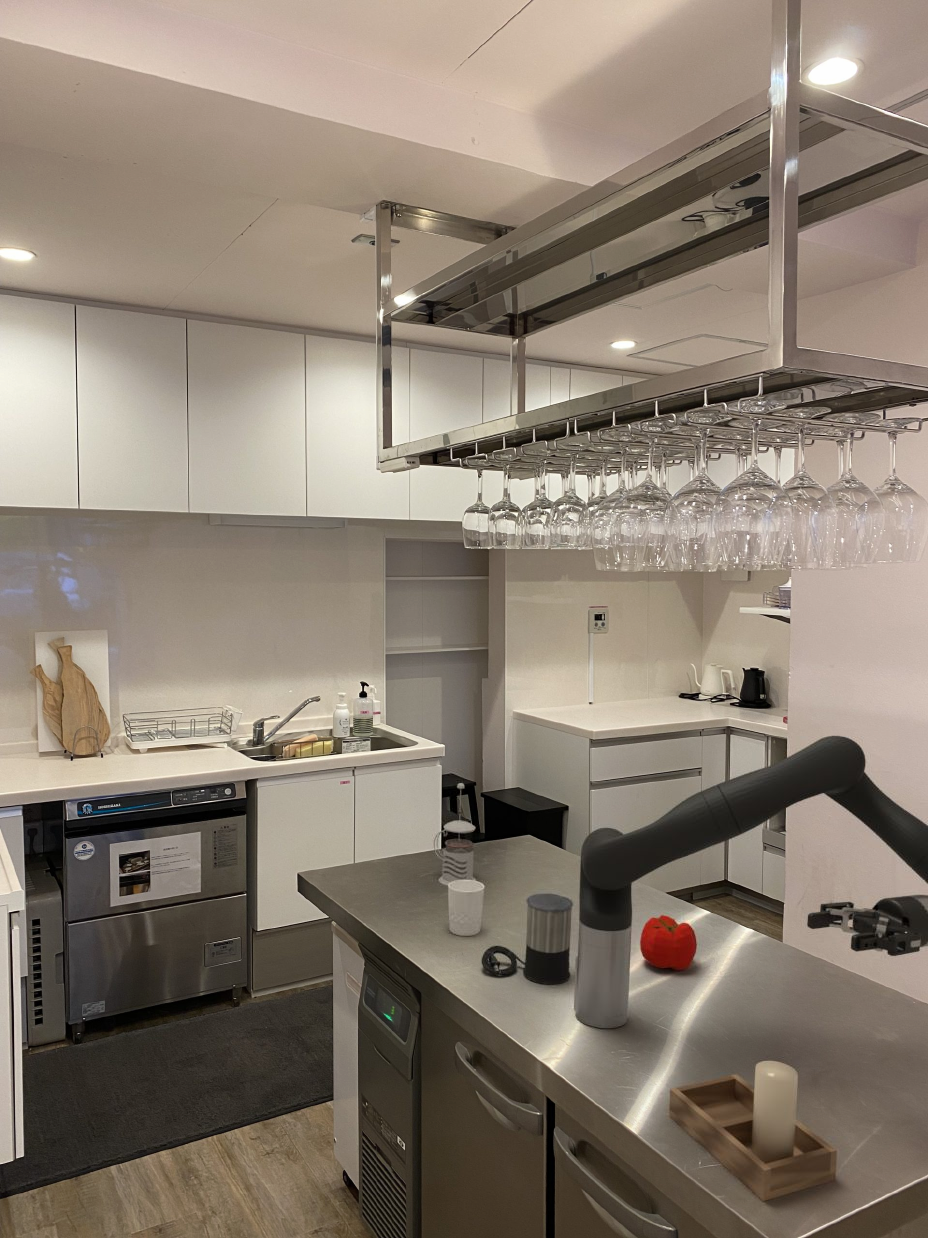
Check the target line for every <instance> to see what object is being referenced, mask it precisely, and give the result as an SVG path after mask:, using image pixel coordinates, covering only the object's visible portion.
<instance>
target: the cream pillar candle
mask: <svg viewBox="0 0 928 1238" xmlns="http://www.w3.org/2000/svg"><path fill="white" fill-rule="evenodd" d="M754 1070H755V1071H754V1072H755V1073H754V1086H753V1087H754V1107H753V1127H752V1147H751V1152H752V1153H753V1154H754V1155H755V1156H757V1157H758V1158H759V1159H760V1160H761V1161H763V1162H764V1163H765V1164H768V1163H771V1162H775V1161H779V1160H782V1159H786V1158H789V1157H793V1156H794V1141H795V1122H796V1120H797V1119H796V1118H797V1104H798V1103H797V1100H798V1099H797V1098H798V1081H799V1080H798V1079H799V1074H798V1072H797V1069H796V1070H795V1068H793V1067H792V1066H790V1065H788V1064H786V1063H784V1062H780V1061H776V1060H763V1061H760V1062H758V1063H756V1064H755V1069H754Z"/></svg>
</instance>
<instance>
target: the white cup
mask: <svg viewBox="0 0 928 1238" xmlns="http://www.w3.org/2000/svg"><path fill="white" fill-rule="evenodd" d="M447 892H448V896H447V897H448V919H449V931H450V933H451V934H454V935H456V936H461V937H472V936H475V935H478V934H480V932H481V927H482V926H481V925H482V918H483V908H484V896H485V885H484V883H482V882H480V881H477V880H476V881H473V880H457V881H453V882H451V883H449V884H448V886H447Z"/></svg>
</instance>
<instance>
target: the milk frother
mask: <svg viewBox="0 0 928 1238" xmlns="http://www.w3.org/2000/svg"><path fill="white" fill-rule="evenodd" d="M526 904H527V912H526V913H527V915H526V916H527V917H526V943H525V946H526V947H525V958H524V959H525V960H524V961H523V960H521V958H520V957H519V956H517V954H515V953H514V952H513V951H512V950H511V949H509V948H507V947H505V946H501V945H492V946H490V947H489V948H487V949H486V950H485V951H484V952H483V955H482V956H481V965H482V967H483V969H484V970H485V971H486V972H488V973H490V974H492V975H496V976H508V975H510V974H511V975H512V973H514V972H515V970H516V968H517V966H518V962H520V963H521V964H523V965H524V968H523V971H522V972H523V975H524V977H525V978H527V979H528V980H530V981H532V982H534V983H538V984H544V985H558V984H562V983H565V982H567V981H568V980H569V979H570V978H571V973H570V949H571V948H570V947H571V931H572V928H571V927H572V911H573V910H572V909H573V906H574V902H573V900H572V899H570V898H569V897H567V896H564V895H561V894H555V893H551V892H549V893H548V892H547V893H534V894H532V895H530V896H528V897H527V898H526ZM496 954H501V955H504V956H505V957H506V958H508V959H509V960H510V965H509V966H507V967H506V968H500V965H501V961H499V960H498V958H497V957H496ZM517 961H518V962H517Z"/></svg>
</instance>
